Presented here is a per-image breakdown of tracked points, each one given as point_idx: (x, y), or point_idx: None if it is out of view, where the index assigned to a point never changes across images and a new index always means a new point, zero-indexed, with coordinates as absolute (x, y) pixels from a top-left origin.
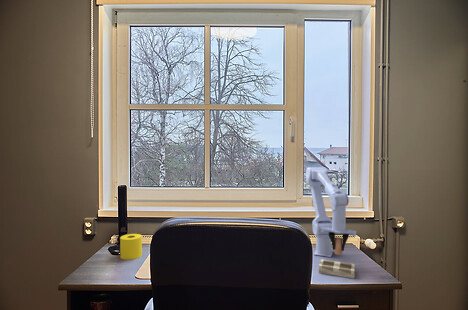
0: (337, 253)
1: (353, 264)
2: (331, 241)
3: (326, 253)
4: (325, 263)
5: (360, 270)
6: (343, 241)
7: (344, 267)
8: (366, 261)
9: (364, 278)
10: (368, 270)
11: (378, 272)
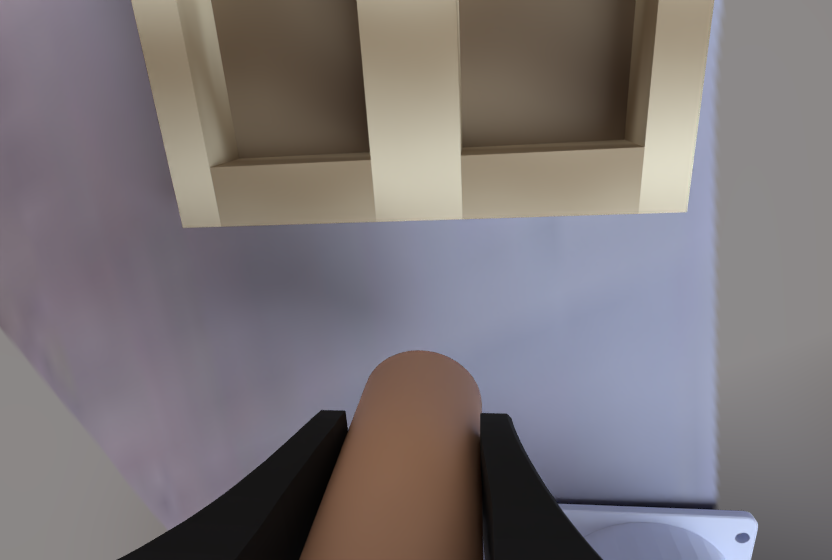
0: (428, 360)
1: (194, 203)
2: (570, 527)
3: (604, 545)
4: (600, 145)
5: (180, 252)
6: (221, 541)
7: (324, 154)
8: (190, 510)
9: (77, 12)
10: (111, 288)
11: (16, 276)
